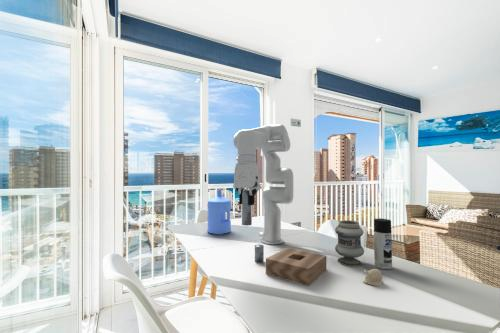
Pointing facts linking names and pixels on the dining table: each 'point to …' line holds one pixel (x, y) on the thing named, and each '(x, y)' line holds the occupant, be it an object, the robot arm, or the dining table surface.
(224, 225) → the water jug
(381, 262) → the spray can
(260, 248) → the short pin
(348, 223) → the apothecary jar
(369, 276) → the decorative ornament
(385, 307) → the dining table surface
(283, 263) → the hole block
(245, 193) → the tall pin
